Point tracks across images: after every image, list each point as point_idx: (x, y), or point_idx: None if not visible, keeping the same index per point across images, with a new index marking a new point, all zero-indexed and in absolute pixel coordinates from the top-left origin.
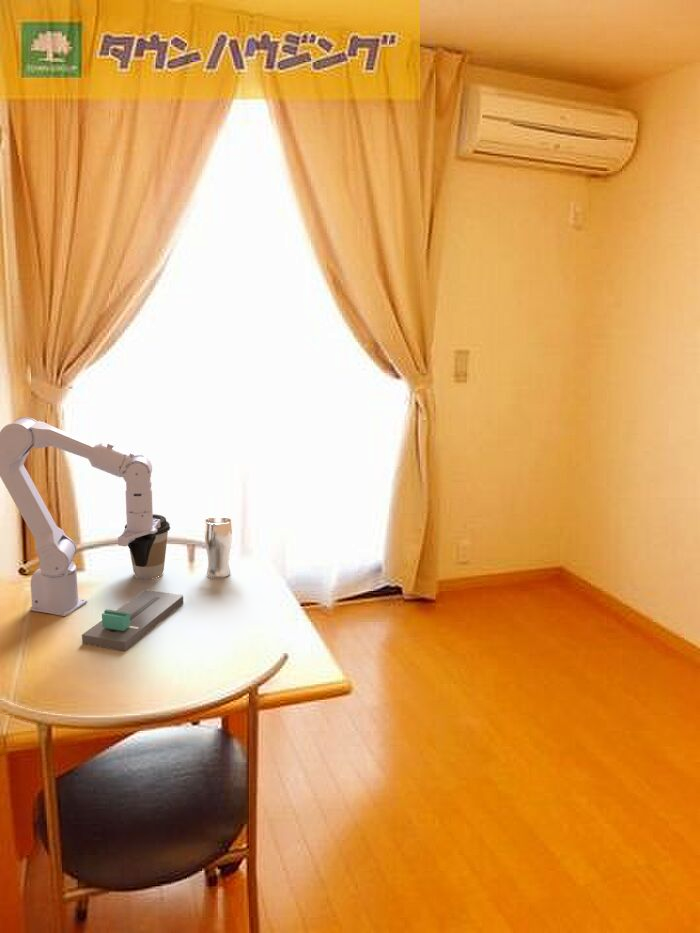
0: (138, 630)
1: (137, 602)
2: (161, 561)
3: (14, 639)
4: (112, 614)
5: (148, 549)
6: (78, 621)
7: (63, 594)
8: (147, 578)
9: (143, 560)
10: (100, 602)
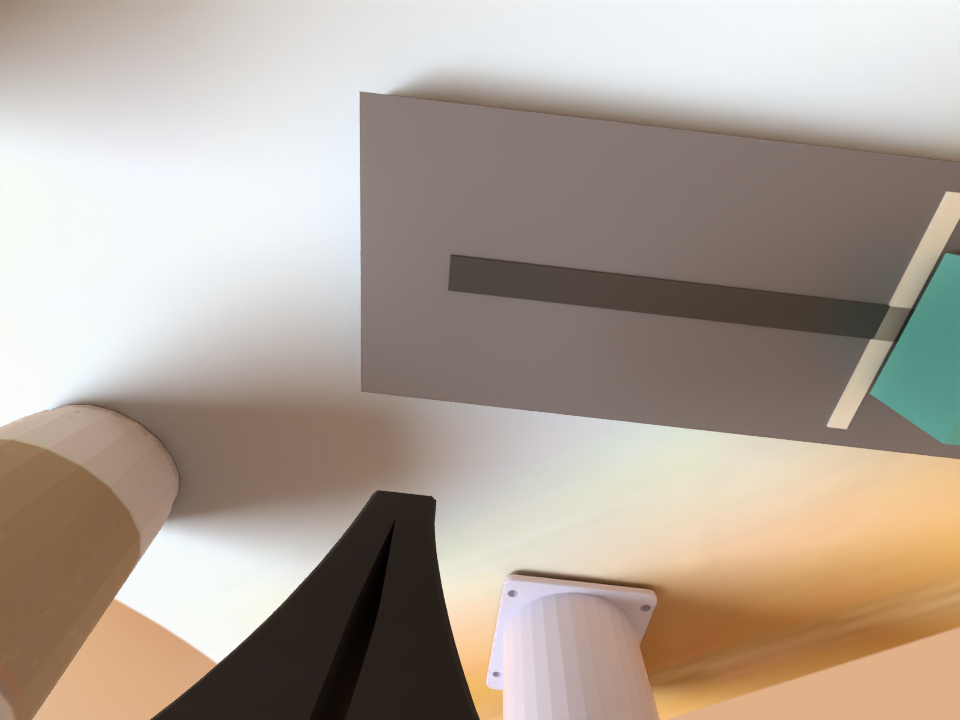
0: None
1: (550, 361)
2: (4, 451)
3: (852, 646)
4: None
5: (321, 656)
6: (694, 530)
7: (644, 690)
8: (162, 450)
9: (434, 556)
10: (490, 528)
